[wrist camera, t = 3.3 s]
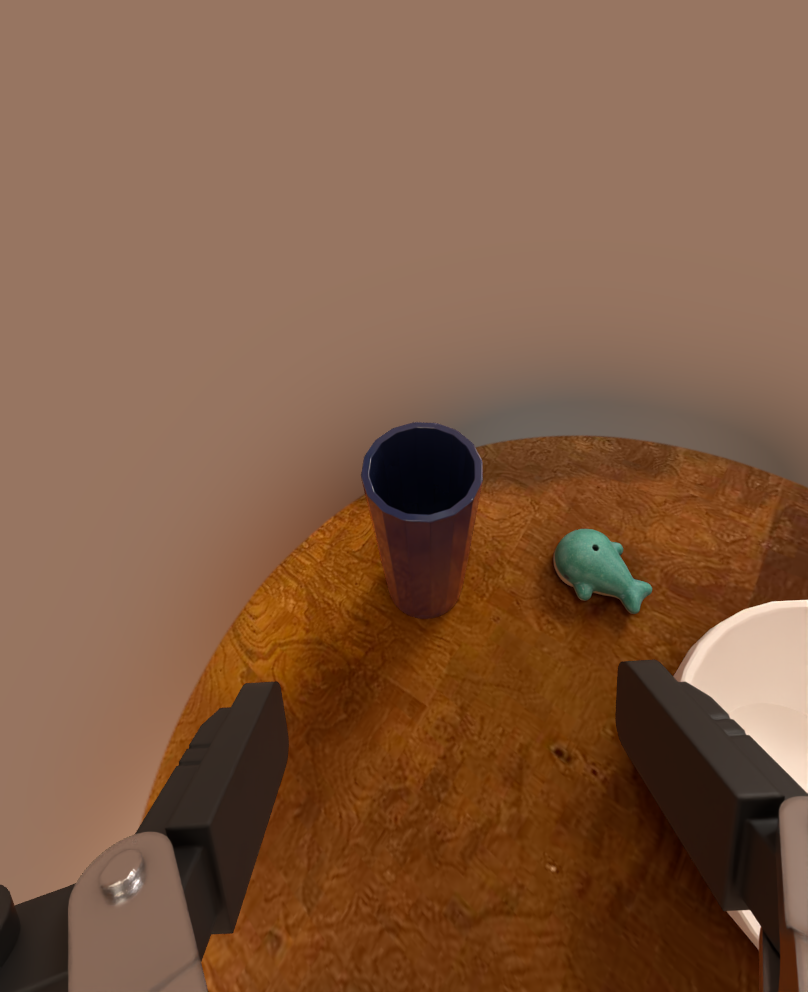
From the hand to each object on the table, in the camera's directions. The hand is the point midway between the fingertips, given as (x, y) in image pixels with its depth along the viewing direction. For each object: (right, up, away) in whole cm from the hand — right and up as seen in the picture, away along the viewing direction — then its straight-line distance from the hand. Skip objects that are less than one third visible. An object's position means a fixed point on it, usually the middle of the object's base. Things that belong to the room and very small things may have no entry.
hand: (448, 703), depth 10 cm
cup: (+1, -2, +25) cm, 25 cm away
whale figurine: (+14, -2, +25) cm, 29 cm away
